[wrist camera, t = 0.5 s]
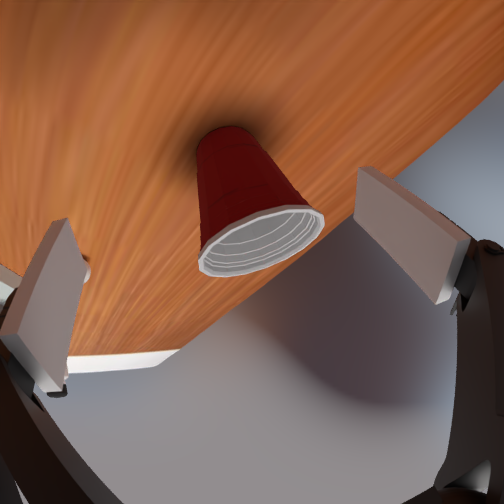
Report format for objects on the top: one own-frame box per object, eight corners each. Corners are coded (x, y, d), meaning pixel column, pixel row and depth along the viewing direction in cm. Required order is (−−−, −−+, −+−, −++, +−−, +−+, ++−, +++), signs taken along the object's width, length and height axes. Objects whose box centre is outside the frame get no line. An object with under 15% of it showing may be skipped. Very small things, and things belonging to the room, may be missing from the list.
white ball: (61, 258, 37) (61, 282, 35) (81, 250, 37) (82, 274, 36) (74, 268, 40) (76, 291, 39) (94, 261, 40) (96, 284, 39)
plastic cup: (212, 197, 37) (241, 290, 32) (148, 153, 28) (169, 266, 23) (292, 148, 34) (340, 240, 28) (245, 84, 24) (302, 189, 19)
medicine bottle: (40, 350, 66) (47, 395, 61) (65, 351, 71) (72, 394, 66) (37, 357, 70) (44, 398, 65) (60, 357, 75) (67, 398, 70)
